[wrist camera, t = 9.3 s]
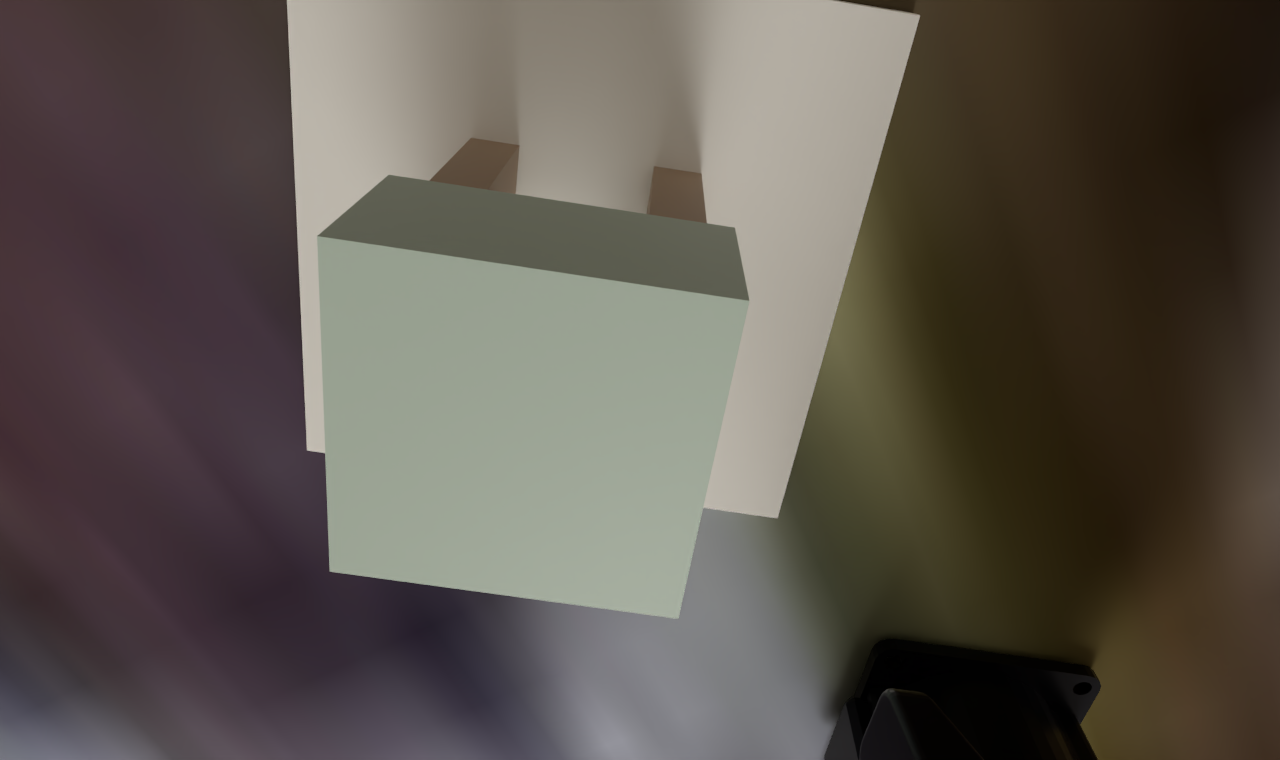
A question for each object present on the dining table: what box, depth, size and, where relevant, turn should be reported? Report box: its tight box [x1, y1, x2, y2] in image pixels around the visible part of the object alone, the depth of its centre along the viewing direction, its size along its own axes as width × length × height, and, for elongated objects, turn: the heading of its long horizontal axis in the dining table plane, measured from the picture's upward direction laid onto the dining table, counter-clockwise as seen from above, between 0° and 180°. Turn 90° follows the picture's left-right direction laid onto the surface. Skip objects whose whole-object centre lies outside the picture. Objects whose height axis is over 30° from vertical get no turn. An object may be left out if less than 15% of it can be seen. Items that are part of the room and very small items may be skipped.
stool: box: [317, 138, 749, 619], centre depth 15 cm, size 6×6×8 cm
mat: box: [287, 0, 920, 518], centre depth 19 cm, size 12×12×1 cm
